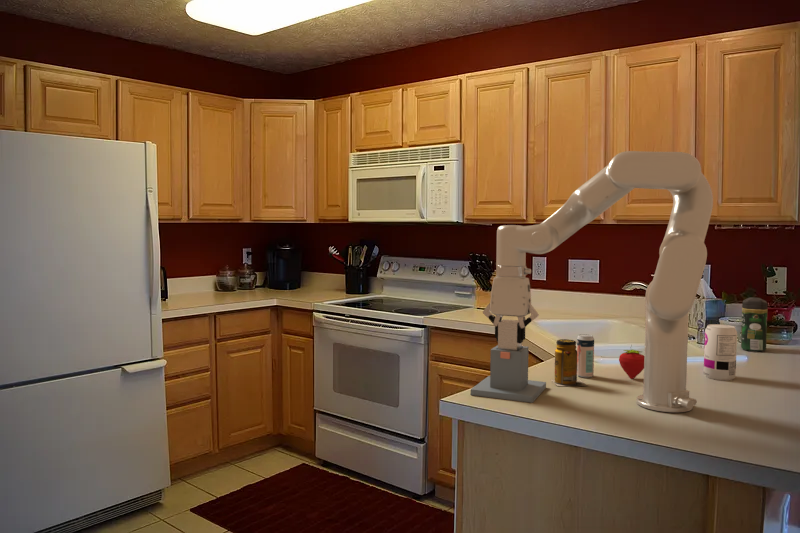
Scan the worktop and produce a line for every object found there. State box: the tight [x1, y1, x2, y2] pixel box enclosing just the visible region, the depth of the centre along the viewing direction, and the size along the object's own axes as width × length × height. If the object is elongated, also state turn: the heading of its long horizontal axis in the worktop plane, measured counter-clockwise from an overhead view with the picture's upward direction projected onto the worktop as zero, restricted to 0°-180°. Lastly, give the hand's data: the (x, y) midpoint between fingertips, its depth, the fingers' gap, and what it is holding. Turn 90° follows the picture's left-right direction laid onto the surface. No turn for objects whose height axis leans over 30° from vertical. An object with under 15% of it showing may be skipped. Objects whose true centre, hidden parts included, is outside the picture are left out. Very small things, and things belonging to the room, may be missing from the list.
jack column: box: [497, 318, 523, 351], centre depth 161 cm, size 5×5×17 cm
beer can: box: [576, 333, 595, 379], centre depth 178 cm, size 5×5×12 cm
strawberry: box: [618, 344, 644, 380], centre depth 175 cm, size 6×8×10 cm
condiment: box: [550, 338, 588, 387], centre depth 170 cm, size 7×8×12 cm
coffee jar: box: [740, 296, 768, 353], centre depth 217 cm, size 10×8×19 cm
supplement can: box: [703, 323, 738, 381], centre depth 177 cm, size 8×8×15 cm
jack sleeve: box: [470, 344, 547, 404], centre depth 161 cm, size 16×16×12 cm
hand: (509, 340), depth 161 cm, fingers closed on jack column, 5 cm apart
